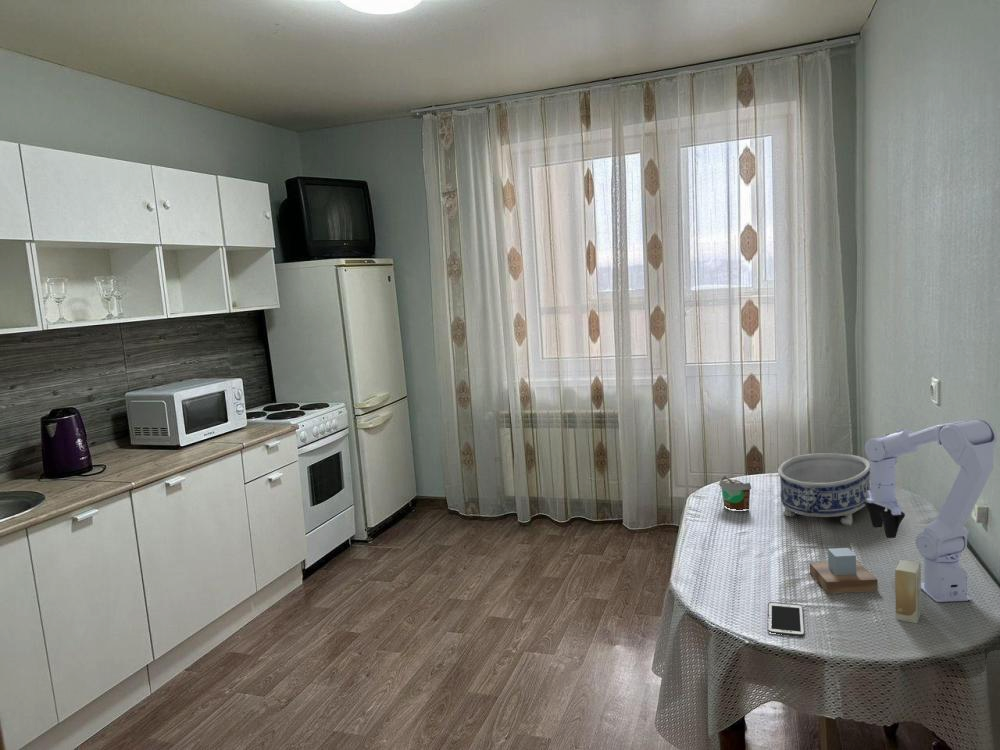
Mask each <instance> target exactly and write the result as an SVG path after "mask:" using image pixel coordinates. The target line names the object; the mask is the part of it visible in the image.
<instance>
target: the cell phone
mask: <svg viewBox="0 0 1000 750" xmlns="http://www.w3.org/2000/svg"><path fill="white" fill-rule="evenodd" d="M767 607H768V608H767V615H768V614H770V615H771V616H772V617H771V616H770V615H769V616H768V617H770V618H771V619H772V620H771V619H769V620H770V621H769V622H771V623H769V625H770V626H769V630H768V629H767V632H768V631H769V632H771V633H776V634H780V635H779V636H783V635H789V636H788V637H793V636H799V637H798V638H804V637H805V621H804V620H805V619H804V608H803V605H802V604H796V603H787V602H786V603H785V602H774V601H769V603H768V605H767ZM771 624H772V625H771ZM781 634H782V635H781ZM803 636H804V637H803Z"/></svg>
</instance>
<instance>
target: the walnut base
mask: <svg viewBox="0 0 1000 750" xmlns="http://www.w3.org/2000/svg"><path fill="white" fill-rule="evenodd" d="M809 574H810V575H811V577H812V578H813V579H816V580H817V581H816V580H815V581H816V582H817V583H818V585H819V586H820V587H821V586H822V587H823V588H824V589H825V590H824V589H823V588H822V587H821V588H822V589H823V590H824V591H825V593H827V594H842V593H843V594H844V593H861V592H862V593H863V592H865V593H866V592H878V588H879V586H878V584H879V583H878V578H876V576H874V574H872V573H871V572H870V570H868V569H867V568H866V567H865V566H864V565H862V563H860V562H859V561H858V560H857V559H856V574H855V575H835V574H834V573H833V572H832V571H831V569H830V568H829V567H828V561H815V562H814V561H811V562H809Z"/></svg>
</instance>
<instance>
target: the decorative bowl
mask: <svg viewBox="0 0 1000 750" xmlns="http://www.w3.org/2000/svg"><path fill="white" fill-rule="evenodd" d="M777 473H778V475H779V476H780V479H779V480H780V501H781V503H782V506H783V507H784V511H783V515H784V516H785V515H786V516H785V517H787V516H789V518H790V517H791V516H792V517H794V516H795V515H796V514H797V515H802V516H807V517H814V518H831V517H833V518H834V517H840V516H842V517H840V520H839V521H840V522H839V523H840V524H842V525H844V526H852V524H853V514H855V513H856V512H857V511H859V510H861V509H862V508H864V507H866V506H865V504H864V500H867V498H868V497H867V491H868V490H871V480H870V476H871V467H870V461H869V460H868V459H867V458H864V457H862V456H859V455H853V454H847V453H846V454H845V453H835V452H834V453H833V452H832V453H829V452H828V453H827V452H826V453H822V452H821V453H807V454H801V455H797V456H796V455H795V456H794V457H790V458H789V459H787V460H785V461H784V462H783V463H781V464H780V466H779V467H778V469H777ZM792 517H791V518H792Z"/></svg>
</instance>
